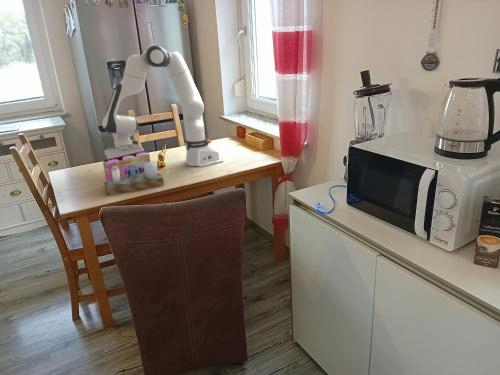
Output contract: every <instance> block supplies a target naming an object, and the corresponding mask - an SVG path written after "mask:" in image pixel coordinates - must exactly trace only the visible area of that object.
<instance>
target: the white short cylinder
mask: <svg viewBox="0 0 500 375" xmlns="http://www.w3.org/2000/svg"><path fill="white" fill-rule="evenodd" d="M143 165H144V172H145V178H146V179H154V178H157V177H158V164H157V162H155V161H150V162H147V163H144V164H143Z"/></svg>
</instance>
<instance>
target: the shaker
mask: <svg viewBox="0 0 500 375" xmlns="http://www.w3.org/2000/svg"><path fill="white" fill-rule="evenodd" d="M111 171H112V177H113V183H114V184H119V183H121V178H120V172H119V168H118V167H117V166H113V167H112V169H111Z"/></svg>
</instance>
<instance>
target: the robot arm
mask: <svg viewBox="0 0 500 375" xmlns="http://www.w3.org/2000/svg"><path fill="white" fill-rule="evenodd" d="M149 68H164V69H165V70H166V72H167V74H168V77H169V79H170V81H171V83H172V86H173V88H174V92H176V95H177V98H178V100H179V102H180V103H181V109H182V116H183V117H182V118H183V119H182V120H183V125H184V132H185V141H184V142H185V144H184V145H185V150H186V154H185V161H184V162H185V163H184V164H186V165H187V166H191V167H192V166H193V167H198V168H202V167H206V166H207V167H208V166H210V165H215V164H219V163H223V162H224V158H223V156H221V155H220V154H219V151H218V149H217V148H215V147H214V146H213V145H211V143H212V140H210V139H209V138H206V135H205V132H206V131H205V122H204V116H203V114H204V112H205V105H204V102H203V100H202V97H201V95H200V92H199V90H198V89H197V87H196V84H195V83H194V82H195V81H194V80H193V77H192V75H191V72H190V69H189V68H188V66H187V63H186V62H185V60H184V58H183V56H182V55H181V53H179V52H178V51H169V52H168V51H167V50H166V49H165V48H164V47H162V46H160V45H158V44H150V45H147V46H146V47H145V48H144V49H143V51H142V52H141V53H140V54H131V55H129V56H128V58H127V61H126V64H125V67H124V72H123V77H122V80H120V82H119V83H117V84H116V85H115V87H114V89H113V90H112V93H111V96H110V100H109V103H108V106H107V109H106V112H105V114H104V116H103V118H102V122H101V127H102V128H103V130H104V131H105V132H106V133H107V134H111V135H112V137H113V139H114V140H113V143H114V147H108V148H106V149H105V150H104V155H105V157H106V159H111V158H115V157H119V156H124V155H128V154H132V153H136V152H141V151H145V149H144V147H143V146H142V145H141V142H140V140H134V139H131V137H132V136H133V135H135V134H136V133H137V132H138V130H139V123H138V120H137V119H136V117H134V116H130V115H121V114H117V113H118V110H119V107H120V103H121V101H122V100H123V99H124V98H125V97H128V96H133V95H136V94H138V93H140V92H141V91H143V89H144V88H145V84H146V78H147V72H148V70H149Z"/></svg>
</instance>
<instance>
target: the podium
mask: <svg viewBox="0 0 500 375" xmlns="http://www.w3.org/2000/svg"><path fill="white" fill-rule="evenodd" d="M161 185H163V186H165V182H164V177H163V176H162V175H161V173H158V177H157V178H154V179H146V178H145V176H139V177H133V178H127V179H122V180H121V183H119V184H114V183H113V181H110V182H107V181H105V182H104V188H105V189H104V190H105V193H106V196H112V195H119V194H123V193H130V192H134V191H135V192H136V191H139V190H145V189H146V188H147V189H151V187H152V188H157V187H156V186H158V187H162V186H161ZM147 189H146V190H147Z"/></svg>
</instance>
